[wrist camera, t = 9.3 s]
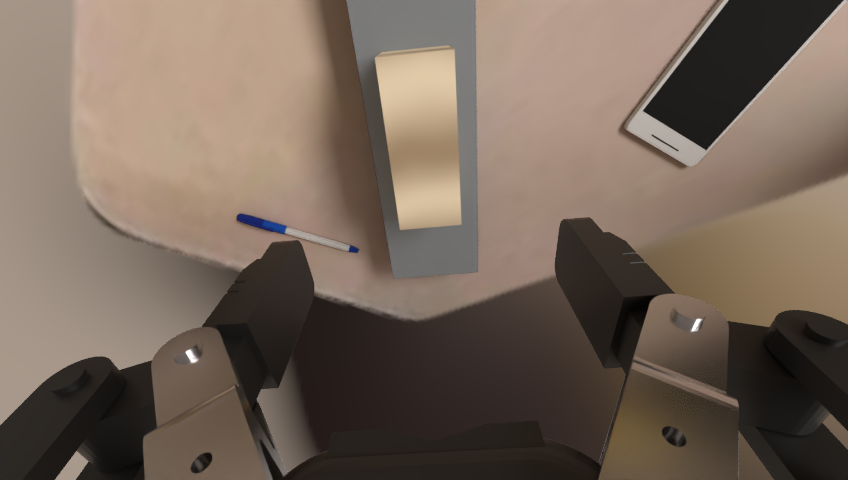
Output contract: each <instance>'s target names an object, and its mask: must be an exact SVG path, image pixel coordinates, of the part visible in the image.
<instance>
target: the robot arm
mask: <svg viewBox="0 0 848 480" xmlns="http://www.w3.org/2000/svg"><path fill="white" fill-rule="evenodd" d="M555 273H556V277H557V280H558V283H559V284H560V286H561V288H562V290H563V292H564V294H565V296H566V298H567V299H568V301H569V303H570V305H571V307H572V309H573V311H574V313H575V314H576V316H577V318H578V320H579V322H580V324H581V326H582V328H583V329H584V331H585V333H586V335H587V337H588V339H589V341H590V343H591V344H592V346H593V348H594V350H595V352H596V354H597V356H598V358H599V359H600V361H601V363H602V365H603V367H604V368H617V367H622V368H623V370H624V372H625V374H626V377H625V380H624V383H623V386H622V389H621V392H620V396H619V399H618V402H617V406H616V409H615V413H614V416H613V419H612V422H611V425H610V429H609V432H608V435H607V438H606V442H605V445H604V448H603V451H602V454H601V458H600V460H599V463H597V462H596V461H595V460H593V459H592V458H590V457H589V456H587V455H585V454H583V453H582V452H580V451H578V450H576V449H574V448H572V447H569V446H567V445H565V444H562V443H559V442H556V441H553V440H550V439H546V438H543V436H542V433H541V430H540V426H539V423H538V421H525V422H508V423H490V424H484V425H481V426H478V427H475V428H472V429H469V430H466V431H463V432H460V433H457V434H454V435H451V436H448V437H445V438H442V439H438V440H427V439H423V438H418V437H413V436H409V435H404V434H399V433H395V432H390V431H385V430H370V431H353V432H336V433H332V437H331V441H330V446H329V450H328V451H325V452H322V453H320V454H318V455H316V456H314V457H312V458H310V459H308V460H306V461H305V462H303V463H301V464H300V465H298V466H297V467H295V468H294V469H293V470H291V471H290V472H289V473H288V472H287V470H286V468H285V466H284V464H283V462H282V459H281V457H280V454H279V452H278V449H277V447H276V445H275V442H274V440H273V437H272V434H271V432H270V430H269V427H268V425H267V422H266V420H265V417H264V414H263V413H262V409H261V407H260V405H259V403H258V401H257V397H258V394H259V392H260V390H261V389H268V388H278V387H279V385H280V382H281V380H282V377H283V375H284V372H285V370H286V367H287V364H288V362H289V359H290V357H291V354H292V352H293V349H294V347H295V344H296V342H297V339H298V336H299V334H300V331H301V329H302V326H303V324H304V321H305V318H306V316H307V313H308V311H309V308H310V306H311V303H312V301H313V297H314V281H313V278H312V275H311V271H310V268H309V265H308V262H307V259H306V256H305V253H304V250H303V247H302V244H301V243H300V242H299V241H298V240H294V241H281V242H273V243H271V245H270V246H269V248H268V249H267V250H266V252H265V253H264V255H263V256H262V258H261V259H257V260H255V261H254V262H253V263H251V264H250V265H249V266H247V267H246V268H245V269H243V270H242V272H241V273H240V275H239V276H238V277H237V279H236V280H235V284H232V286H231V287H230V288H229V290H228V294H225V296H224V297H223V298H222V300H221V301H220V302H219V304H218V305H217V307H216V308H215V309H214V311H213V312H212V314H211V315H210V316H209V317H208V319H207V320H206V322H205V323H204V324H203V326H202V327H199V328H195V329H191V330H188V331H186V332H184V333H181V334H179V335H177V336H176V337H174V338H172V339H171V340H170V341H168V342H167V343H166V344H165V345H163V346H162V347H161V348H160V349H159V350H158V352H157V353H156V354H155V356H154V358H153V360H152V361H148V362H145V363H142V364H138V365H135V366H132V367H129V368H125V369H122V370H118V368H117V367H116V366H115V365H114V364H113V363H112V361H111V360H110V359H109V358H106V357H92V358H88V359H84V360H81V361H79V362H76V363H74V364H71V365H69V366H67V367H66V368H64V369H62V370H60V371H59V372H57V373H55V374H54V375H53V376H51V377H50V378H48V379H47V380H46V381H45V382H43V383H42V384H41V385H40V386H39V387H38V388H37V389H36V390H35V391H34V392H33V393H32V394H31V395H30V396H29V397H28V398H27V399H26V400H25V401H24V402H23V403H22V404H21V405H20V406H19V407H18V408H17V409H16V410H15V411H14V412H13V413H12V414H11V415H10V416H9V417H8V418H7V419H6V420H5V421H4V422H3V423H2V424H1V425H0V480H55V479H56V477H57V476H58V474H59V473H60V472H61V471H62V469H63V467H65V465H66V464H67V463H68V461H69V460H70V459H71V457H72V456H73V455H74V453H75V452H76V451H77V452H79V453H80V454H81V455H82V456H83V457H84V458H86V459H87V460H88V461H89V462H88V463H87V465H86V466H85V468H84V469H83V470H82V472H81V473H80V475H79V476H78V477H77V479H76V480H738V471H739V470H738V468H739V464H738V463H739V431H740V433H741V434H742V435H743V437H744V438H745V440H746V441H747V442H748V444H749V445H750V447H751V448H752V449H753V451H754V452H755V453H756V455H757V456H758V458H759V459H760V461H761V462H762V463H763V465H764V466H765V468H766V469H767V470H768V471H769V473H770V474H771V476H772V477H773V479H774V480H848V450H847V449H846V448H845V446H844V445H843V444H842V443H841V442H840V441H839V440H838V439H837V438H836V437H835V436H834V435H833V434H832V433H831V432H830V431H829V429H828V428H827V427H826V426H825V425H824V424H823V423H822V422H823V421H824V420H825V419H826V418H827V417H828V416H829V414H830V413H831V414H832V415H833V416H834V417H835V418H836V419H837V420H838V421H839V422H840V423H841V424H842V425H843V426H844V427H845V428H846V430H847V431H848V325H847V324H845V323H843V322H841V321H839V320H836V319H833V318H831V317H828V316H825V315H822V314H818V313H814V312H809V311H801V310H789V311H784V312H781V313H779V314H778V315H777V316H776V317H775V319H774V321H773V323H772V324H771V326H770V327H764V326H757V325H750V324H743V323H737V322H730V321H727V320H726V318H725V317H724V316H723V315H722V314H721V312H719V311H718V310H717V309H716V308H714V307H713V306H711V305H709V304H708V303H706V302H704V301H701V300H699V299H696V298H694V297H690V296H686V295H681V294H675V293H674V292H673V291H672V290H671V289H670V288H669V287H668V286H667V285H666V283H665V282H663V280H662V279H661V278H660V277H659V276H658V275H657V274H656V273H655V272H654V271H653V270H652V269H651V268H650V267H649V266H648V265H647V264H646V263H644V260H643V259H642V258H641V257H640V256H639V255H638V254H636V253H635V251H634V250H633V249H632V248H631V246H630V245H629V244H628V243H627V242H626V241H624V240H623V239H621V238H619V237H617V236H615V235H614V234H612V233H610V232H605V233H604V232H603V231H602V230H601V229H600V228H599V227H598V226H597V224H596V223H595V222H594V221H593V220H592V219H591V218H589V217H587V218H575V219H564V220H562V221H561V224H560V228H559V235H558V243H557V251H556V258H555Z"/></svg>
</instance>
